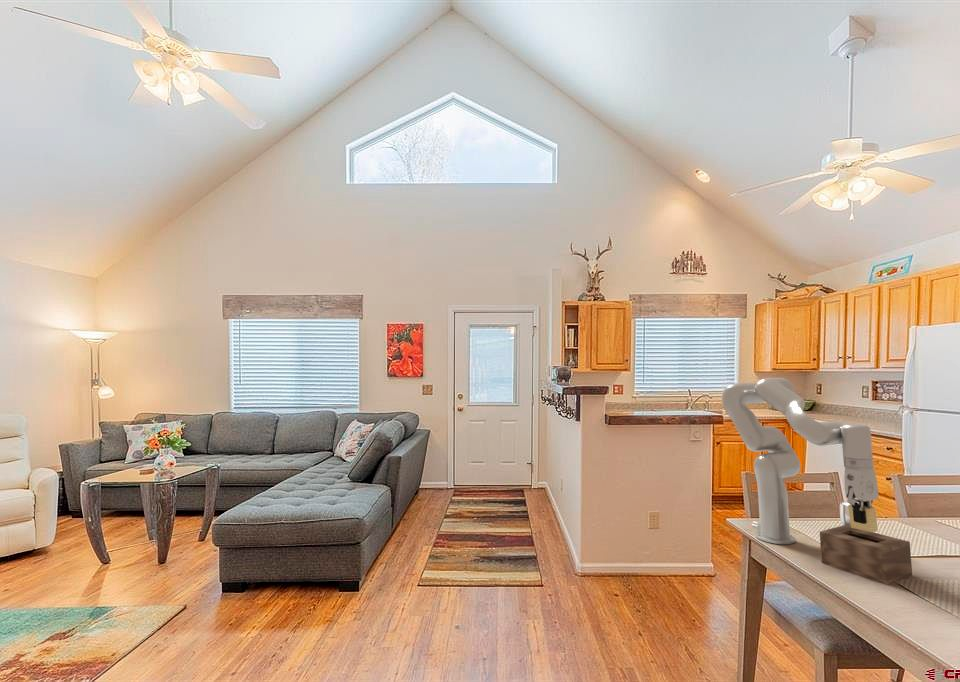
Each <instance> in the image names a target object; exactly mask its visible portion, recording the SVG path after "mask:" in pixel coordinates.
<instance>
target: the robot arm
mask: <svg viewBox="0 0 960 682" xmlns="http://www.w3.org/2000/svg"><path fill="white" fill-rule="evenodd" d="M721 403H722V407H723V409H724V411H725V412H726V414H727V416H728V417H729V418H730V420H731V422H732V423H733V425H734V427H735V429H736V430H737V432H738V434H739V436H740V438H741V440H742V441H743V443H744V445H745V446H746V448H747V449H748V450H749V451H751V452H756V453H759V452H760V453H761V452H766V453H761V454H759V455H758V456H757V457H756V458H755V459H754V461H753V470H754V474H755V479H756V484H757V495H758V497H757V498H758V500H757V501H758V512H759V513H758V515H759V517H758V518H759V522H758V521H755V520H753V521H752V523H751V528H753V529H757V531H756V532H755V537H756V538H757V539H758V540H760V541H762V542H765V543H771V544H776V545H792V544H795V543H796V538H795V536H794V535H791V530H790V528H791V527H790V513H789V497H788V489H787V486H786V484H785V482H784V480H783V479H784V478H785V479H786V478H790V477H794V476H796V475H798V474H799V472H800V471H801V461H800V459H799V457H798V455H797V453H796V452H795V450H794V448H793V447H792V445H791V444H790V442H789V440H788V439H787V437H786V436H785V434H784V433H783V432H782V431H781V429H779V428H777V427H776V426H772V425H762V424H761V423H760V421H759V420H758V418H757V416H756V415H755V413H754V412H753V411H752V410H751V408H748V407H747V406H746V405H748V404H749V405H751V404H752V405H753V404H762V403H767V404H769V405H770V406H771V407H773V408H774V409H775V410H776V411H778V412H779V413H781V414H782V415H784V417H785V418H786V420H787V423H788V424H789V426H790V427H791V429H793V430H794V432H796V433H797V434H798V435H800V436H801V437H802V438H803V439H805V440H807V441H808V442H810V443H811V444H813V445H816V446H822V447H823V446H824V447H825V446H832V445H842V446H841V447H842V456H843V457H842V458H843V467H844V494H845V497H846V499H847V501H846V502H847V503H849V504H850V505H851V506H852V509H853V519H854V522H858V523H862V524H866V517H865V511H863V506H868V507H873V502H874V500H877V499H878V498H879V496H880V495H879V487H878V481H877V476H876V475H877V474H876V472H875V469H874V458H873V457H874V456H873V445H872V444H873V443H872V433H871V429H870V426H868V425H867V424H861V423H848V422H847V423H845V422H841V421H822V422H819V421H817V420H815V419H814V418H812V417H811V416H810V415H808V414H807V413H806V412H805V411H804V408H805V406H806V402H805V400H804V398H803V397H801V396H800V395H798V394H797V393H795V386H794V384H793V382H791V381H790V380H789V379H787V378H786V377H785V378H784V377H765V378H762V379H760V380H758V381H755V382H737V383H736V382H735V383H731V384H729V385H727V386H726V387H725V388H724V389H723V392H722V394H721ZM858 503H859V504H858Z"/></svg>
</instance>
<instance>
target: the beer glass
mask: <svg viewBox="0 0 960 682" xmlns="http://www.w3.org/2000/svg"><path fill="white" fill-rule="evenodd" d="M857 503H858V504H859V502H857ZM848 505H850V504H849V503H847V501H840V502H839V518H840V523H841V526H843V525H847V526H850V527H851V525H850V516H849V508H848Z"/></svg>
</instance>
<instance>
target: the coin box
mask: <svg viewBox="0 0 960 682" xmlns="http://www.w3.org/2000/svg"><path fill="white" fill-rule="evenodd" d="M819 543H820V557H821V559H820V561H821V564H824V565H828V566H830V567H833V568H836V569H840V570H842V571H845V572H849V573H851V574H853V575H858V576H860V577H863V578H866V579H869V580H872V581H875V582H878V583H881V584H884V585H890V584H892V583H895V582H897V581H900V580H903V579H905V578H908V577H911V576H913V569H912V568H913V567H912V566H913V565H912V552H911V543H910V541H909V540H904V539H900V538H897V537H892V536H889V535H885V534H881V533H876V532H869V531H864V530H859V529H855V528H851V527H850V526H847V525H843V526H842V525H840V526H837V527H832V528H828V529H825V530H821V531H819Z"/></svg>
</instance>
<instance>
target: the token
mask: <svg viewBox="0 0 960 682" xmlns="http://www.w3.org/2000/svg"><path fill="white" fill-rule="evenodd" d="M848 508H849V516H850V525H851V528H855V529H859V530H864V531H869V532H874V533H876V532H878V521H877V515H876V514H877V513H876V507H874V506H872V507H868V506H863V511H865V517H866V524H862V523H858V522H854V519H853V509H852V506H851V505H848Z"/></svg>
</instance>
